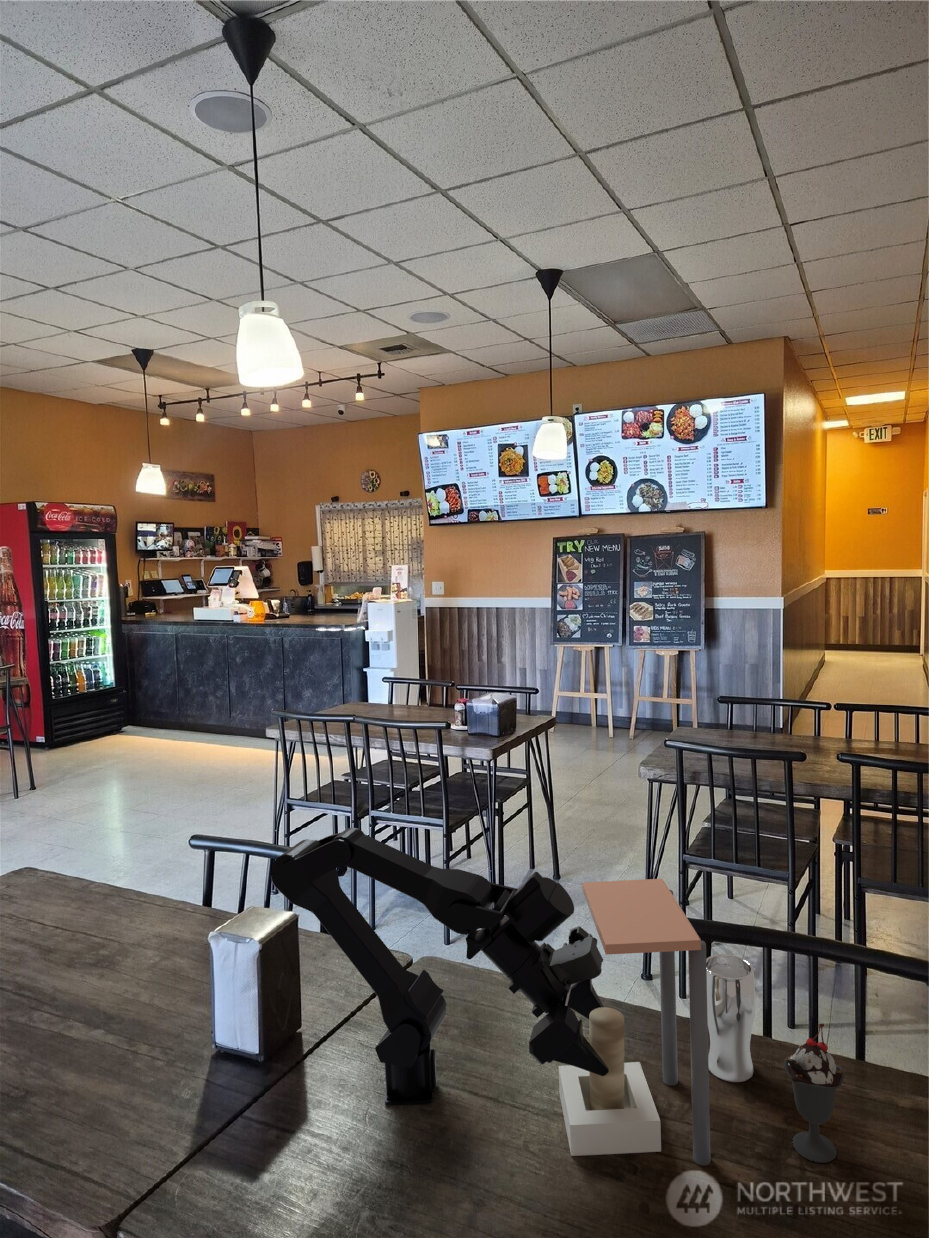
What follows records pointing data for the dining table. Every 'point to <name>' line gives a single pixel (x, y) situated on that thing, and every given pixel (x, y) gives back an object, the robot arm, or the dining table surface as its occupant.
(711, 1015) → the beer glass
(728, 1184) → the dining table surface
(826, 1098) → the sundae
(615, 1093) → the dowel
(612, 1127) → the table parts
